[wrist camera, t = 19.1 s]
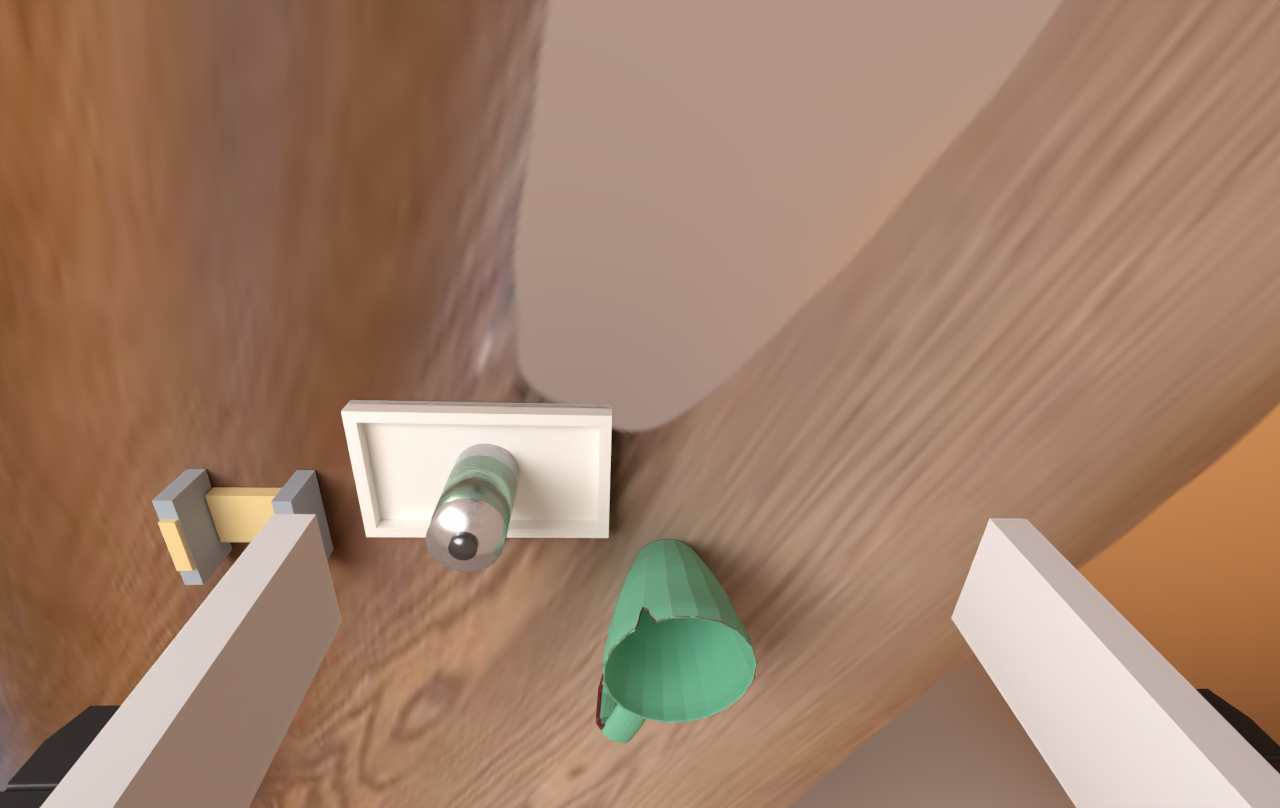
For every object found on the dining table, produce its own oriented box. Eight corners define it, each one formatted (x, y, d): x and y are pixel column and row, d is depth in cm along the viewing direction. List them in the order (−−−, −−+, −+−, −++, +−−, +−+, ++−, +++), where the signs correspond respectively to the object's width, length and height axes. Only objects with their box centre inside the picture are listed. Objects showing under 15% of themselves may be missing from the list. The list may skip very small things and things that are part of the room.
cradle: (187, 468, 41) (148, 503, 37) (315, 470, 42) (288, 504, 38) (215, 549, 44) (182, 587, 41) (333, 549, 45) (310, 587, 41)
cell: (451, 442, 40) (417, 517, 33) (519, 443, 41) (500, 518, 33) (457, 497, 42) (426, 579, 35) (521, 497, 43) (504, 579, 35)
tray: (350, 399, 39) (340, 411, 38) (611, 404, 40) (611, 415, 39) (374, 522, 44) (366, 537, 42) (608, 523, 45) (608, 538, 43)
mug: (641, 493, 44) (650, 595, 35) (752, 541, 46) (787, 647, 37) (554, 625, 49) (543, 741, 40) (658, 661, 52) (669, 777, 43)
